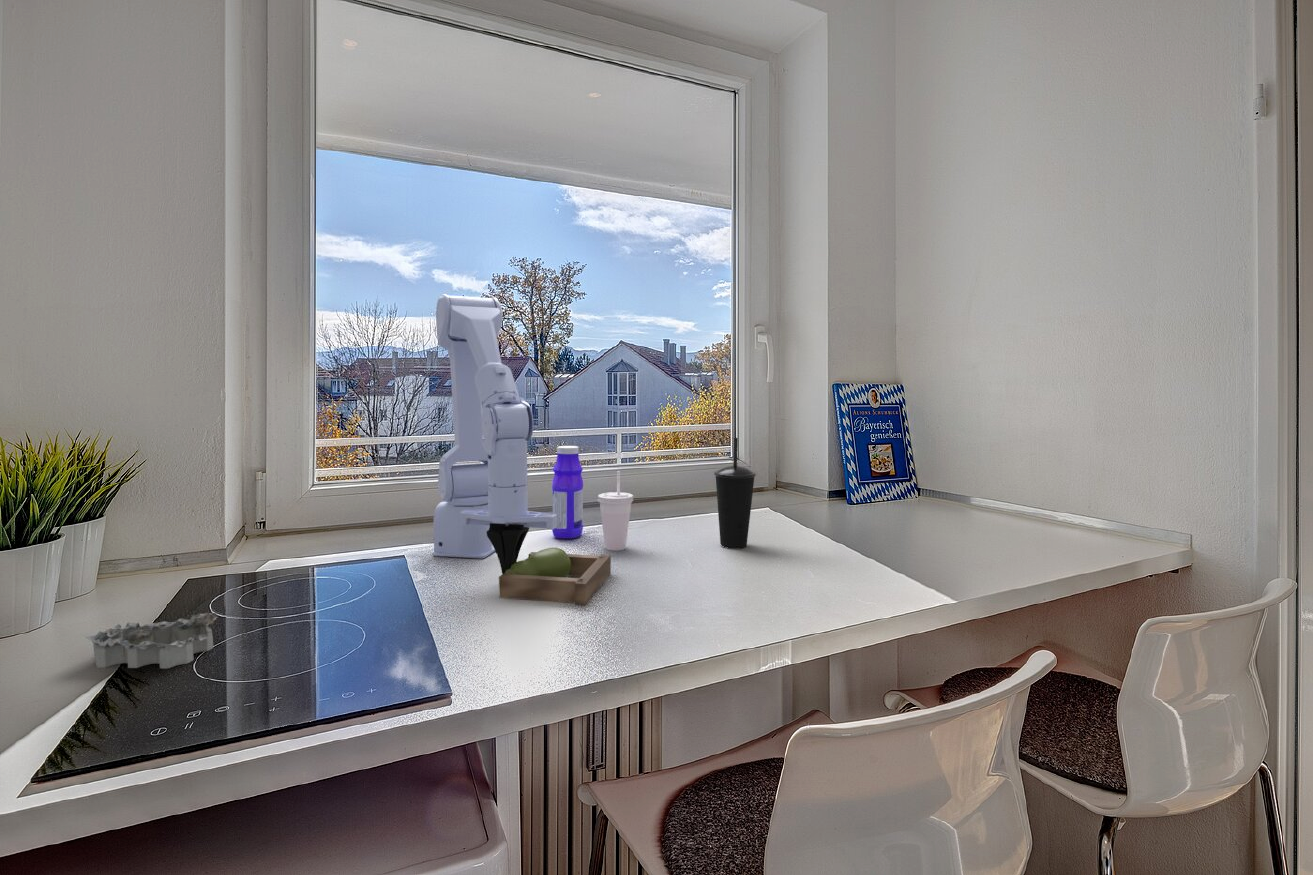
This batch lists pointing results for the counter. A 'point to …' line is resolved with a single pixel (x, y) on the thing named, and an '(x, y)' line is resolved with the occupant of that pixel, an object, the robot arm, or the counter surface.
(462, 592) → the counter surface
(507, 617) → the counter surface
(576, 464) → the bottle
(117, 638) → the egg carton
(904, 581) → the counter surface
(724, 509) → the drinking cup
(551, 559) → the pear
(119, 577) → the counter surface
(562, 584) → the walnut frame
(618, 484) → the smoothie
